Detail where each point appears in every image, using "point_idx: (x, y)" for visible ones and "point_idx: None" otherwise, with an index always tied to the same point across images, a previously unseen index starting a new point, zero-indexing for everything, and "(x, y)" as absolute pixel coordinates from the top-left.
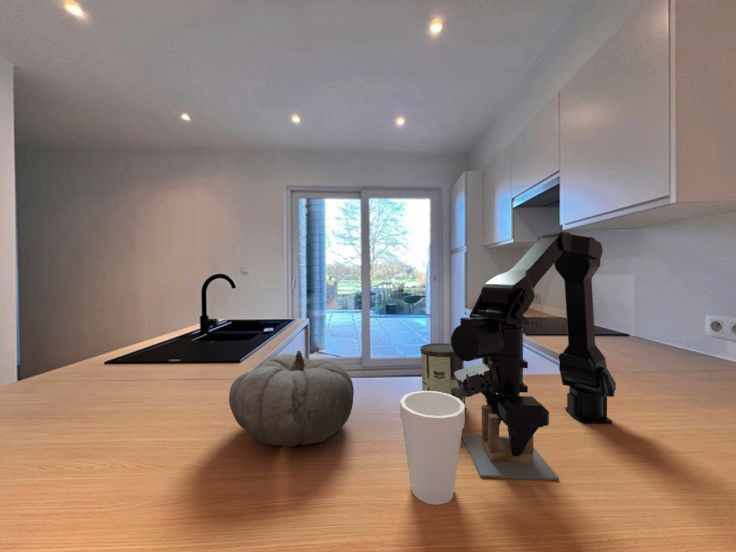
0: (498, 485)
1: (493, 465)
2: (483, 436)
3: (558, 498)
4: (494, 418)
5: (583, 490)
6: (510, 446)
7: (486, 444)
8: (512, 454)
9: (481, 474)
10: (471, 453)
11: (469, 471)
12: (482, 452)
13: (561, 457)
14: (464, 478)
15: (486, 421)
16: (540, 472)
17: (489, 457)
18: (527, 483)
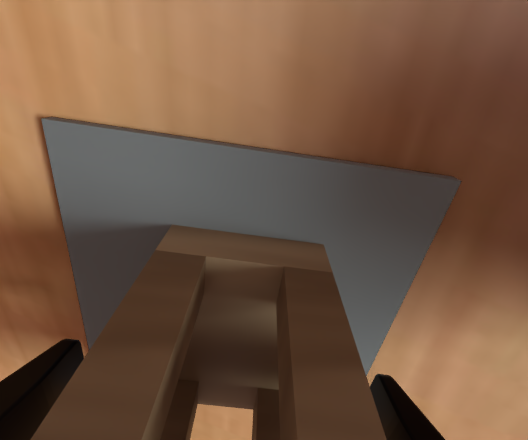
0: (13, 181)
1: (141, 223)
2: (298, 283)
3: (6, 338)
4: None
5: None
6: (32, 379)
7: (246, 264)
8: (59, 343)
9: (44, 126)
10: (250, 155)
11: (97, 73)
12: (253, 219)
13: (224, 432)
14: (18, 5)
15: (289, 409)
16: None
17: (188, 231)
18: (62, 293)
